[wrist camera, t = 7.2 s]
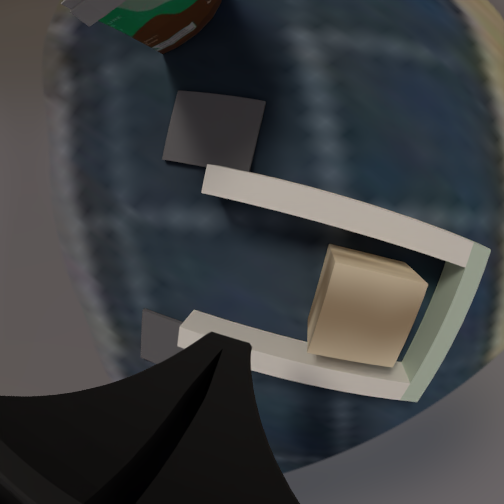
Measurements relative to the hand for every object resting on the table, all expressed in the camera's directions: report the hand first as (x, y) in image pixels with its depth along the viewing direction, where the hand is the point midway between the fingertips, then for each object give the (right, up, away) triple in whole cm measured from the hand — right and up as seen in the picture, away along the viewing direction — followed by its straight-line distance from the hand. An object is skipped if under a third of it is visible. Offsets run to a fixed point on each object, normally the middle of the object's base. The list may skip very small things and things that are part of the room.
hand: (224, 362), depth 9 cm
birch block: (+7, +1, +8) cm, 11 cm away
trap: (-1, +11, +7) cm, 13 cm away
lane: (+5, +1, +9) cm, 10 cm away
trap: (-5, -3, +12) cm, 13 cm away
